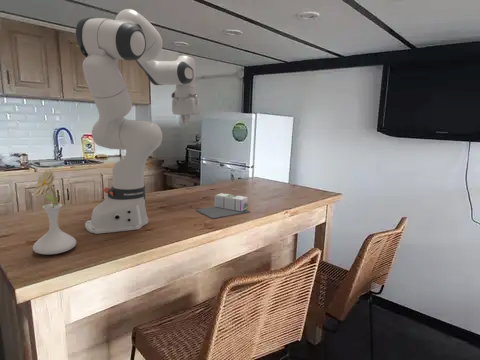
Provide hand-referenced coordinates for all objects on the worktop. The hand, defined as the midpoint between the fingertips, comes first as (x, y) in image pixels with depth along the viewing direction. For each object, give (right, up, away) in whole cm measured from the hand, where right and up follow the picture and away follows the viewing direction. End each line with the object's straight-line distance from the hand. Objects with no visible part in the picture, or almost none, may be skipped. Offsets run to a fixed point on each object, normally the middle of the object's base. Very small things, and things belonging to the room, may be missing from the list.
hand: (185, 125), depth 148 cm
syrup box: (+15, -35, +2) cm, 38 cm away
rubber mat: (+18, -40, -5) cm, 44 cm away
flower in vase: (-30, -47, -52) cm, 76 cm away
